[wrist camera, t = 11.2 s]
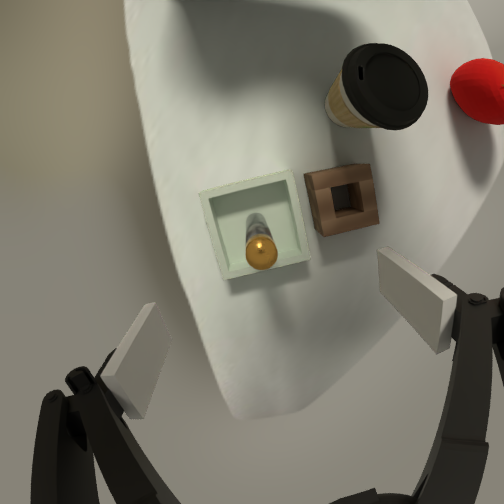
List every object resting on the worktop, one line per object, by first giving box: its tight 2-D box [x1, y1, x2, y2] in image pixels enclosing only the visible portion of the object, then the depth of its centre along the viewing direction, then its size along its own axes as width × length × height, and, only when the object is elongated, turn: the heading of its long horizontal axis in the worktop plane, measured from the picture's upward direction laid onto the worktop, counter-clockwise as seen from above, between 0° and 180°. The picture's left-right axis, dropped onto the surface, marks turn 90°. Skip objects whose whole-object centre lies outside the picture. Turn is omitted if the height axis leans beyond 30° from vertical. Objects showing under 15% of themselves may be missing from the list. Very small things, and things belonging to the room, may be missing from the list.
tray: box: [199, 170, 311, 280], centre depth 38 cm, size 12×12×4 cm
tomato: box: [450, 58, 504, 125], centre depth 27 cm, size 13×11×14 cm
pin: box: [246, 213, 278, 270], centre depth 32 cm, size 3×3×15 cm
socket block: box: [304, 164, 379, 237], centre depth 36 cm, size 8×8×5 cm
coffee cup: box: [325, 43, 428, 130], centre depth 28 cm, size 10×10×15 cm
